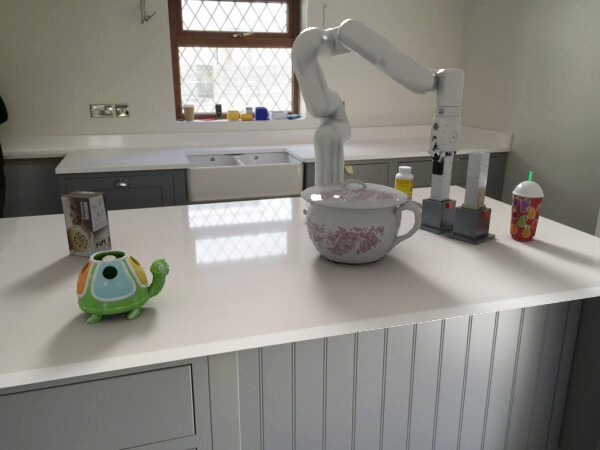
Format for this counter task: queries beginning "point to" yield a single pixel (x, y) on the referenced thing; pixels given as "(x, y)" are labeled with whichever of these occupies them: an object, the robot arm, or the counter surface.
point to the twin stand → (474, 204)
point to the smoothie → (525, 210)
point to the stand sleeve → (438, 216)
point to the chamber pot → (356, 220)
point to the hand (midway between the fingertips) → (441, 173)
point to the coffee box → (86, 222)
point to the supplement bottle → (405, 181)
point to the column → (442, 181)
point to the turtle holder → (117, 284)
